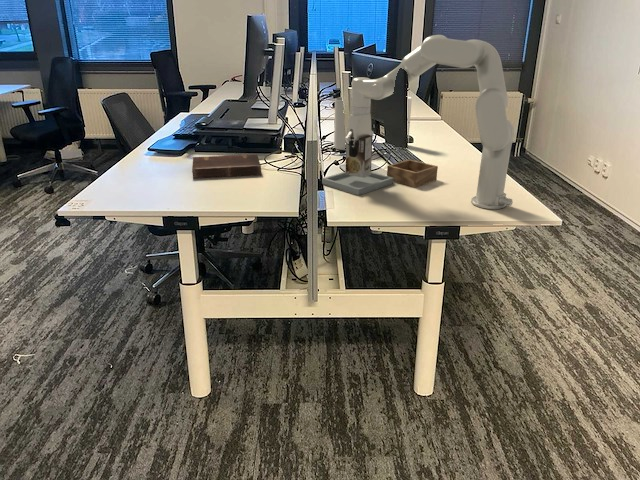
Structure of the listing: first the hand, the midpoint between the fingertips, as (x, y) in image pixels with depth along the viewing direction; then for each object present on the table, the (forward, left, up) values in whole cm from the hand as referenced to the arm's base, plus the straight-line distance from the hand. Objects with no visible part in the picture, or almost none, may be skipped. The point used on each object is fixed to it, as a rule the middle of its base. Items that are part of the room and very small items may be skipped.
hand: (359, 154), depth 211 cm
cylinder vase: (+45, -42, -13) cm, 63 cm away
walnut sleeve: (-12, -21, -12) cm, 27 cm away
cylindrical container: (+28, -67, -13) cm, 74 cm away
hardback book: (+53, +28, -13) cm, 61 cm away
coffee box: (0, 0, -9) cm, 9 cm away
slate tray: (0, 0, -12) cm, 12 cm away
